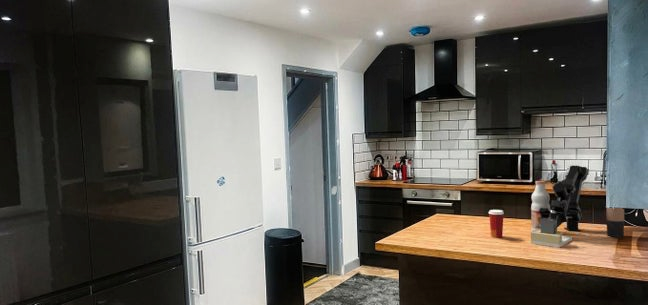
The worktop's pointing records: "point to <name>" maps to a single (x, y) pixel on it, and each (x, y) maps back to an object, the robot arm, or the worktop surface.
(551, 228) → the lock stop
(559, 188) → the robot arm
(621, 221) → the travel mug
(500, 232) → the paper cup
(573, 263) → the worktop surface
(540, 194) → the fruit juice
